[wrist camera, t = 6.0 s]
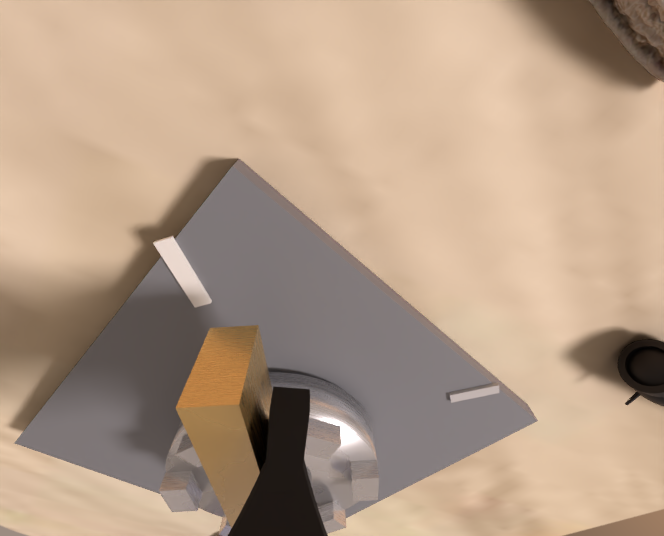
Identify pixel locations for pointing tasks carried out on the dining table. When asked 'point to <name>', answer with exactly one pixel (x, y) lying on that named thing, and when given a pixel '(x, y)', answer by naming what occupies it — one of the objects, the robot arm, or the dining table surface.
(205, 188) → the dining table surface
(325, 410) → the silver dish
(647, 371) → the door handle
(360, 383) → the nut board
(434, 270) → the dining table surface
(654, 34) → the washcloth
